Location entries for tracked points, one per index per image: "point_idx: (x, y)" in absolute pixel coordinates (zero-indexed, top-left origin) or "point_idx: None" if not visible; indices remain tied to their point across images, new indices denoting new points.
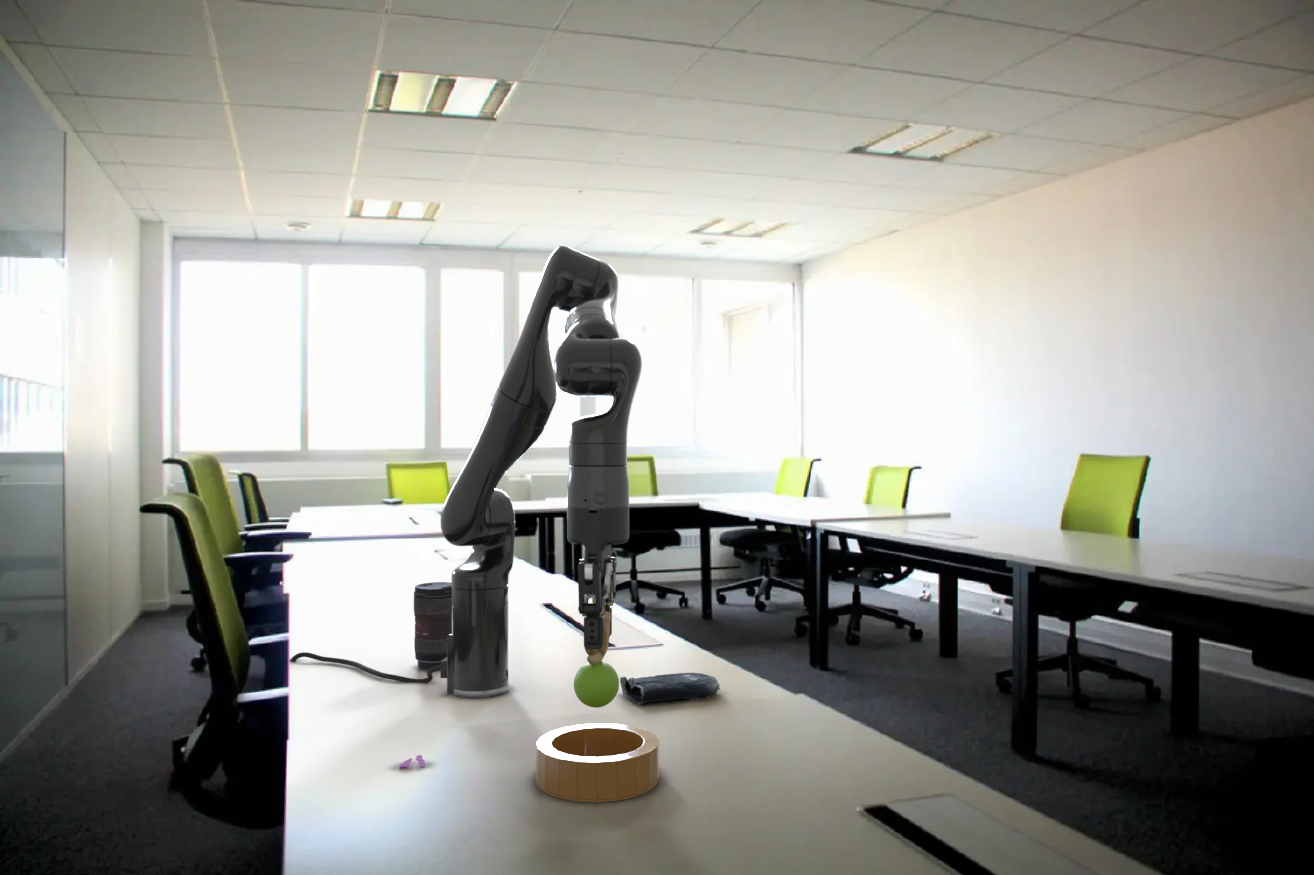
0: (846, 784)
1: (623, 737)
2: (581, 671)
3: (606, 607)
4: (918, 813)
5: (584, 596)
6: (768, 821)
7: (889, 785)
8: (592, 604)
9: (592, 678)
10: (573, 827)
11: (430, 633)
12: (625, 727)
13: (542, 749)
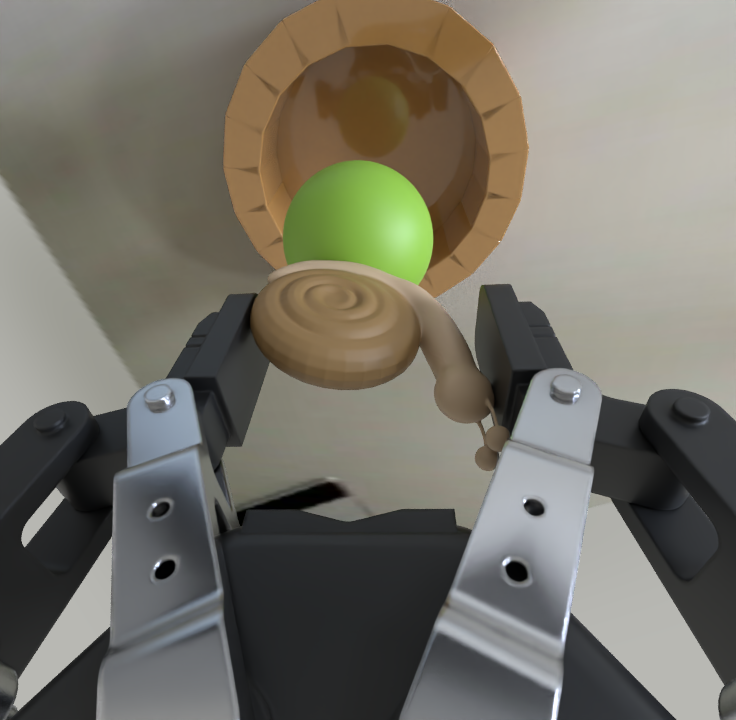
0: (403, 474)
1: (470, 219)
2: (310, 219)
3: (506, 426)
4: (331, 513)
5: (40, 502)
6: (267, 410)
7: (405, 503)
8: (65, 496)
9: (286, 258)
10: (136, 168)
11: None
12: (488, 228)
13: (278, 39)
